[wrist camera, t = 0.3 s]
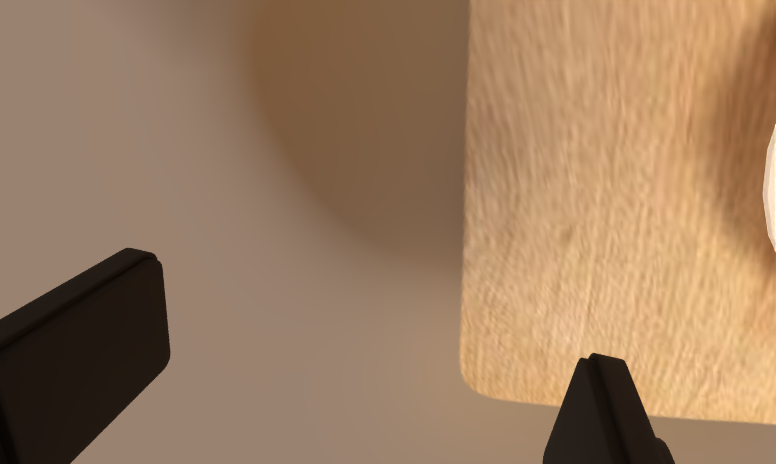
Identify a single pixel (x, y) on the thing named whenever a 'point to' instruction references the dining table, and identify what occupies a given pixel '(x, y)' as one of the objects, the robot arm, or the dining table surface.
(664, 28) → the dining table surface
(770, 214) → the bowl
